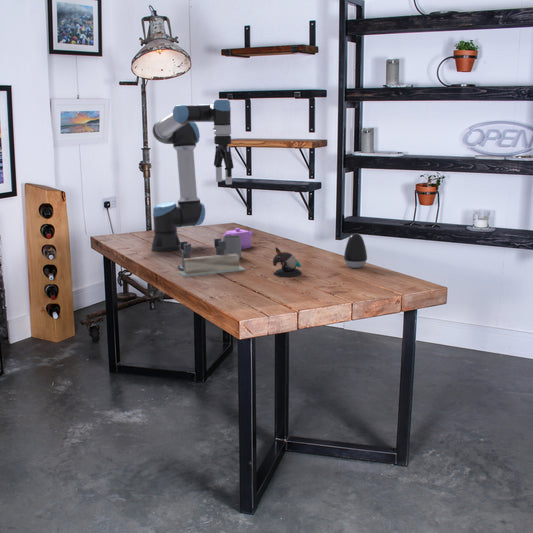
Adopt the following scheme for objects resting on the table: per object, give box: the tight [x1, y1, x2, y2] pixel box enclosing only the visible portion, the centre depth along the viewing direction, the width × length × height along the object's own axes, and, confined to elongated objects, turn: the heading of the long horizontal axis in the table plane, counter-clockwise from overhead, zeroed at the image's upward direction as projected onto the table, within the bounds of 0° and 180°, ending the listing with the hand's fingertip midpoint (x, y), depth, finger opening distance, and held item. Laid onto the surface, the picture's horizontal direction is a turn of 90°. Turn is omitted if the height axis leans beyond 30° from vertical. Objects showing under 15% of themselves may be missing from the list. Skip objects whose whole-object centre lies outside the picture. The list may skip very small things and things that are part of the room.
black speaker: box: [343, 232, 368, 269], centre depth 284 cm, size 10×10×15 cm
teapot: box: [222, 227, 254, 250], centre depth 331 cm, size 18×10×10 cm, turn 124°
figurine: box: [272, 246, 302, 278], centre depth 274 cm, size 11×12×12 cm
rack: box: [177, 238, 226, 271], centre depth 287 cm, size 8×22×12 cm, turn 113°
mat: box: [178, 265, 246, 278], centre depth 281 cm, size 8×28×1 cm, turn 113°
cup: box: [222, 235, 242, 259], centre depth 308 cm, size 8×8×10 cm
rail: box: [184, 254, 240, 274], centre depth 280 cm, size 4×24×6 cm, turn 113°
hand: (223, 183), depth 291 cm, fingers open, 13 cm apart
